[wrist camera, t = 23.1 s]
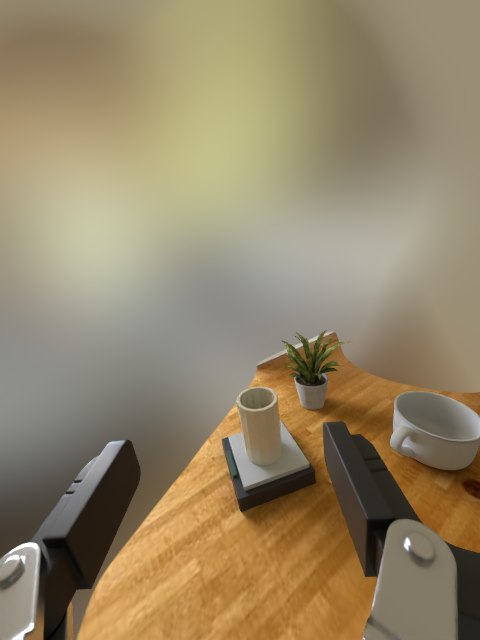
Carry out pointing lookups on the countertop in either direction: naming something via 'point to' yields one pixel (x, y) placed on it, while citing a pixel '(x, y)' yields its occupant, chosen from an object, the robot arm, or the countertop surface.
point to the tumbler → (260, 425)
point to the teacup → (435, 430)
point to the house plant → (311, 372)
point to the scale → (266, 471)
